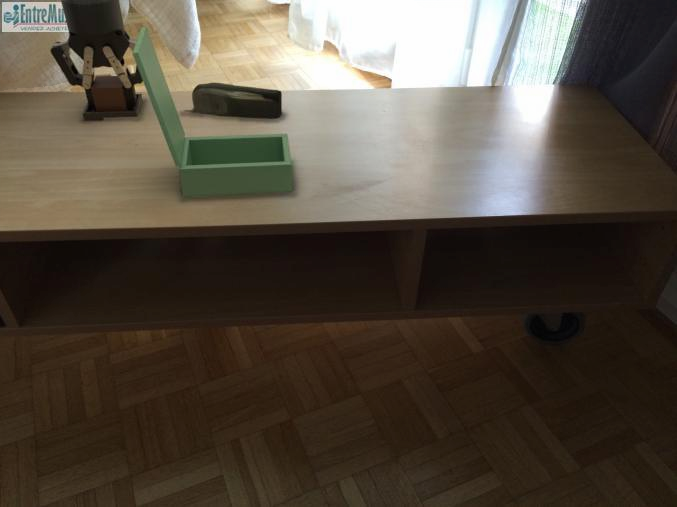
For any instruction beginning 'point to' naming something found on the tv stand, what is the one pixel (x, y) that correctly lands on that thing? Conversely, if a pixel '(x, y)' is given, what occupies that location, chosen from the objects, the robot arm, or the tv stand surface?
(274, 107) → the dark green elongated piece
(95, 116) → the tray
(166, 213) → the tv stand surface
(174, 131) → the lid
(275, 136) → the box
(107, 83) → the block
